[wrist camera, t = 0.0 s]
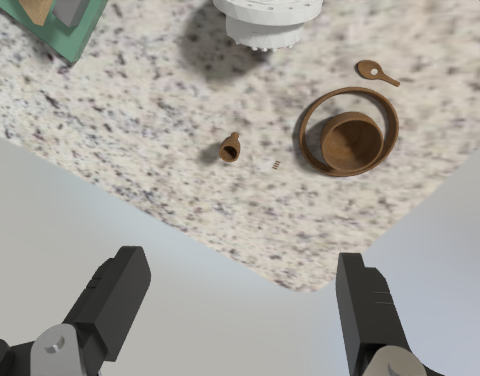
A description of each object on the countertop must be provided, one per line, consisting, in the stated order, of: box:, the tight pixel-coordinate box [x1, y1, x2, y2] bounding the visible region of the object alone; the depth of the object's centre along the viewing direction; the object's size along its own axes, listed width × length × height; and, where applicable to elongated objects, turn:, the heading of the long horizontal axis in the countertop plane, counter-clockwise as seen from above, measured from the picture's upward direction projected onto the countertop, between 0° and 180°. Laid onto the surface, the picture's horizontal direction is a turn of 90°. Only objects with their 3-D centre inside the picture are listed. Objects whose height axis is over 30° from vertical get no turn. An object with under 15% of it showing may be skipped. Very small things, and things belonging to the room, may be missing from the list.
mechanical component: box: [213, 0, 323, 52], centre depth 29 cm, size 10×4×10 cm, turn 86°
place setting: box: [219, 60, 400, 177], centre depth 37 cm, size 18×20×6 cm
